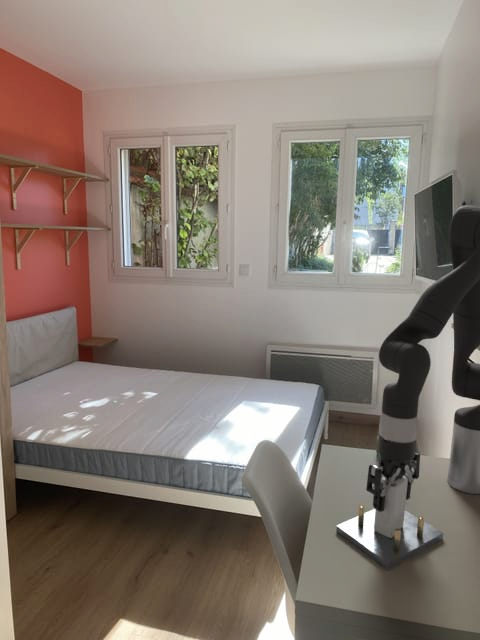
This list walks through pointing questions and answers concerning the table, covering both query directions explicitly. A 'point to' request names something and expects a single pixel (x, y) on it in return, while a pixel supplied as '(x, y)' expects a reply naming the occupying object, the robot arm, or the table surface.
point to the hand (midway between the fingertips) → (391, 503)
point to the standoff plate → (387, 549)
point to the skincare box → (392, 508)
